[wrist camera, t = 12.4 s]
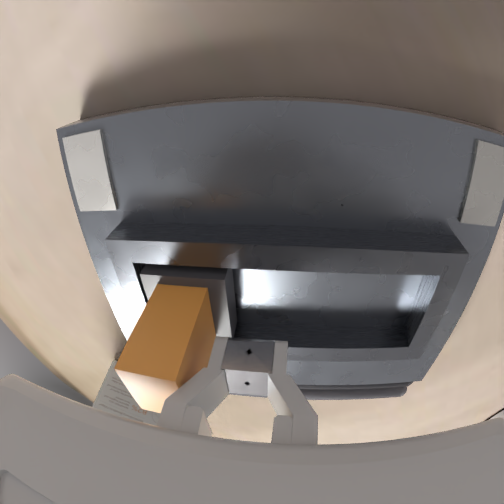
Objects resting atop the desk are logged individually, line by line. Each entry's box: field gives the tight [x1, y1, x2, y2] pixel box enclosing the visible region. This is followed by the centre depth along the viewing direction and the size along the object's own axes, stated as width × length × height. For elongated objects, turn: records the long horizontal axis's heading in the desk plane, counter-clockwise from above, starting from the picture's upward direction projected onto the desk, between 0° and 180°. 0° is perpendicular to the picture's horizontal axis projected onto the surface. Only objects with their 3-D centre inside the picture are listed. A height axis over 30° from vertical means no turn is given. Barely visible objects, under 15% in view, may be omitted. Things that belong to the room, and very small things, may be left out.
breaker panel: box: [56, 97, 504, 385], centre depth 15 cm, size 22×18×4 cm
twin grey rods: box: [229, 382, 413, 400], centre depth 22 cm, size 22×3×1 cm, turn 93°
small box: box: [92, 360, 161, 426], centre depth 23 cm, size 8×6×10 cm
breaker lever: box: [114, 264, 237, 413], centre depth 13 cm, size 4×4×6 cm
